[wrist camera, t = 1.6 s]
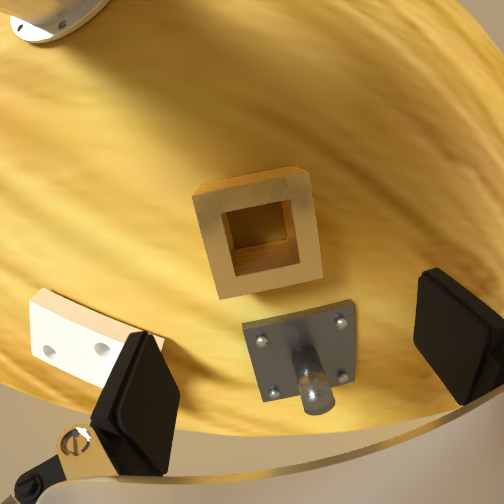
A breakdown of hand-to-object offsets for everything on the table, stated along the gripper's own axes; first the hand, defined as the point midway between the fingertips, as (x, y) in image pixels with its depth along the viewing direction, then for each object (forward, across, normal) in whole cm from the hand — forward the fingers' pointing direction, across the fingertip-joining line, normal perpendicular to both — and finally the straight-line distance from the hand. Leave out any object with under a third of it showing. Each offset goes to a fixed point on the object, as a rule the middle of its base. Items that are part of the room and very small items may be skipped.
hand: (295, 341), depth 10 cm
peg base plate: (+15, -2, +13) cm, 20 cm away
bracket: (+15, +18, +8) cm, 25 cm away
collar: (+15, 0, -1) cm, 15 cm away
